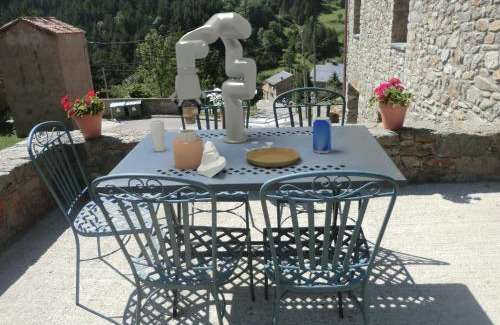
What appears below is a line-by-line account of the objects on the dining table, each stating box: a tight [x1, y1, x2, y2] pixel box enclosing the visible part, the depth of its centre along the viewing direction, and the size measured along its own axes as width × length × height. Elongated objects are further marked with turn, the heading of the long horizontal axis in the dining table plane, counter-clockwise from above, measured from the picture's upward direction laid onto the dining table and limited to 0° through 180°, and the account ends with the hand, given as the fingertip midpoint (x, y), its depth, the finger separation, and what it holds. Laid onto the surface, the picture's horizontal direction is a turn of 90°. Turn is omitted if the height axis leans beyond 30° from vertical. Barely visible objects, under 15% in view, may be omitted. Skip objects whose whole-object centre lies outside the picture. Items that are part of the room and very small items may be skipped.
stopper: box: [181, 106, 199, 125], centre depth 183 cm, size 7×7×6 cm
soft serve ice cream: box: [196, 140, 227, 179], centre depth 174 cm, size 12×15×14 cm
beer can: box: [312, 116, 333, 154], centre depth 197 cm, size 8×8×16 cm
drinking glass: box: [149, 119, 166, 153], centre depth 210 cm, size 7×7×15 cm
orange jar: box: [171, 128, 204, 170], centre depth 186 cm, size 13×13×15 cm
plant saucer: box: [245, 146, 301, 168], centre depth 188 cm, size 24×24×3 cm
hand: (189, 114), depth 182 cm, fingers closed on stopper, 7 cm apart
